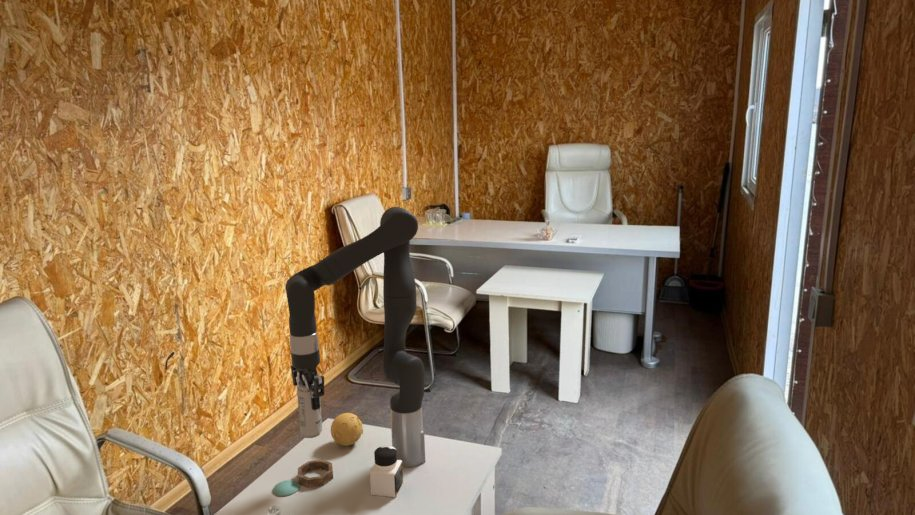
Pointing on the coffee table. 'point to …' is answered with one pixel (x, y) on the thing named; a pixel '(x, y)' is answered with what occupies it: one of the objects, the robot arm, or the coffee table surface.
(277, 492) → the coaster
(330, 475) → the collar
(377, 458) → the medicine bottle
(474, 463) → the coffee table surface
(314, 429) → the energy drink can
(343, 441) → the stress ball
